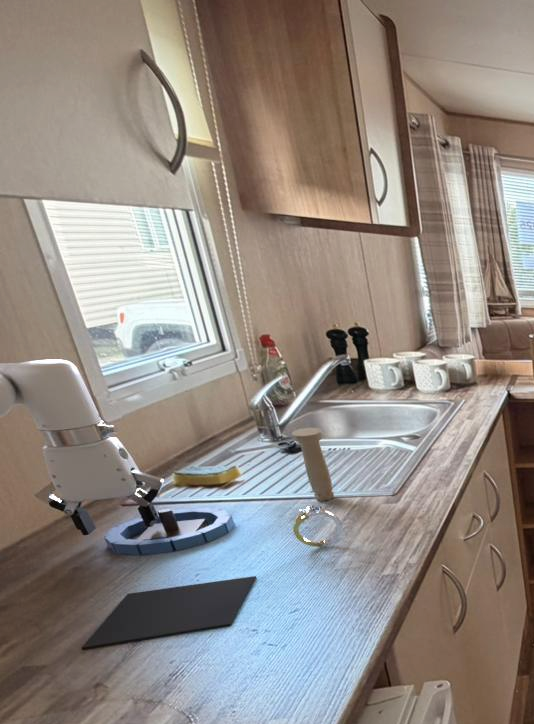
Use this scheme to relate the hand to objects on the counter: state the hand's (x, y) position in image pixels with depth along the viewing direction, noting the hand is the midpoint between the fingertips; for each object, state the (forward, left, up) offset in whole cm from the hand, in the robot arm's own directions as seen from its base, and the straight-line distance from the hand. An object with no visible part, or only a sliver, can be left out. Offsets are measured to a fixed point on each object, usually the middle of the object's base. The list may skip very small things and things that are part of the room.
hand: (121, 527), depth 116 cm
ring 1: (+7, 0, -2) cm, 7 cm away
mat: (+16, -33, -2) cm, 37 cm away
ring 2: (+32, -15, -3) cm, 35 cm away
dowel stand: (+7, 0, -2) cm, 7 cm away
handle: (+29, +12, -3) cm, 31 cm away
